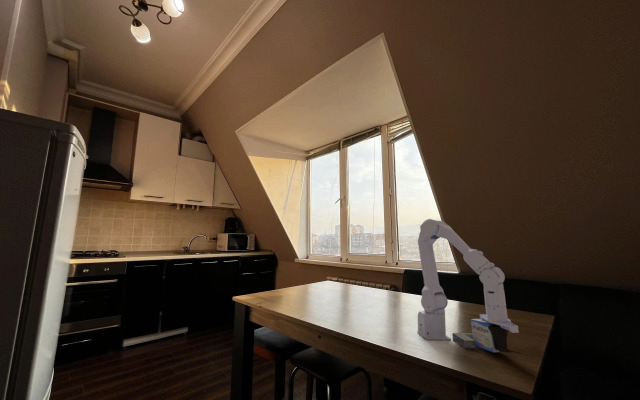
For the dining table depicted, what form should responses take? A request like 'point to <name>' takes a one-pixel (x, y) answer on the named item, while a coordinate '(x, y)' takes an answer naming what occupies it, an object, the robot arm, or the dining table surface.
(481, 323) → the medicine box
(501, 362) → the dining table surface
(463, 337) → the grey flat block
